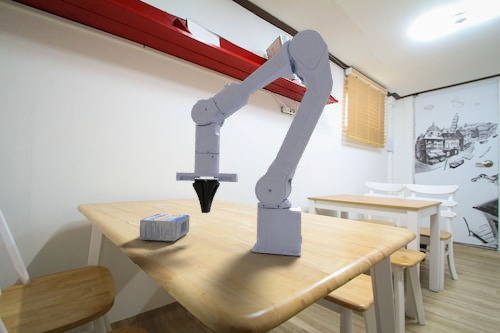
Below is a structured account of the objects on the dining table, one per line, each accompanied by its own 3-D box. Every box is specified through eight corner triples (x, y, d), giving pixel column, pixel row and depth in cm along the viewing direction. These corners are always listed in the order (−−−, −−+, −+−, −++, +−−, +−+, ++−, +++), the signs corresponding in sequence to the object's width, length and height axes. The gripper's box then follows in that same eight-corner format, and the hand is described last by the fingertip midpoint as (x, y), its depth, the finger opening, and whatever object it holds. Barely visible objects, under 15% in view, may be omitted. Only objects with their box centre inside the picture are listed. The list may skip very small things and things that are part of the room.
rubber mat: (186, 233, 57) (186, 231, 57) (172, 241, 50) (172, 239, 51) (163, 231, 58) (163, 230, 59) (146, 239, 52) (146, 237, 52)
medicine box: (176, 221, 49) (139, 219, 50) (175, 241, 49) (138, 239, 50) (190, 214, 57) (157, 213, 58) (189, 232, 57) (157, 230, 58)
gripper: (241, 155, 56) (239, 211, 55) (186, 155, 58) (184, 208, 58) (234, 153, 49) (232, 216, 48) (172, 153, 51) (170, 213, 51)
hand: (205, 212), depth 53 cm, fingers closed
